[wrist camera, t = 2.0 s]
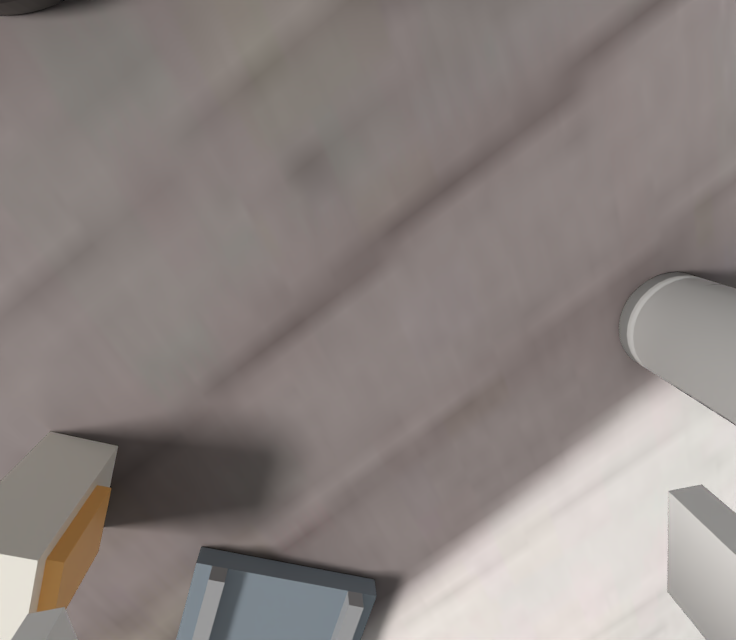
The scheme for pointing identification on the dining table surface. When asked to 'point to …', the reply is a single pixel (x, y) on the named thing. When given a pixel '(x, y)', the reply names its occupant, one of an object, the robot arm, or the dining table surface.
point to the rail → (272, 601)
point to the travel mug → (685, 337)
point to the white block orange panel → (51, 524)
